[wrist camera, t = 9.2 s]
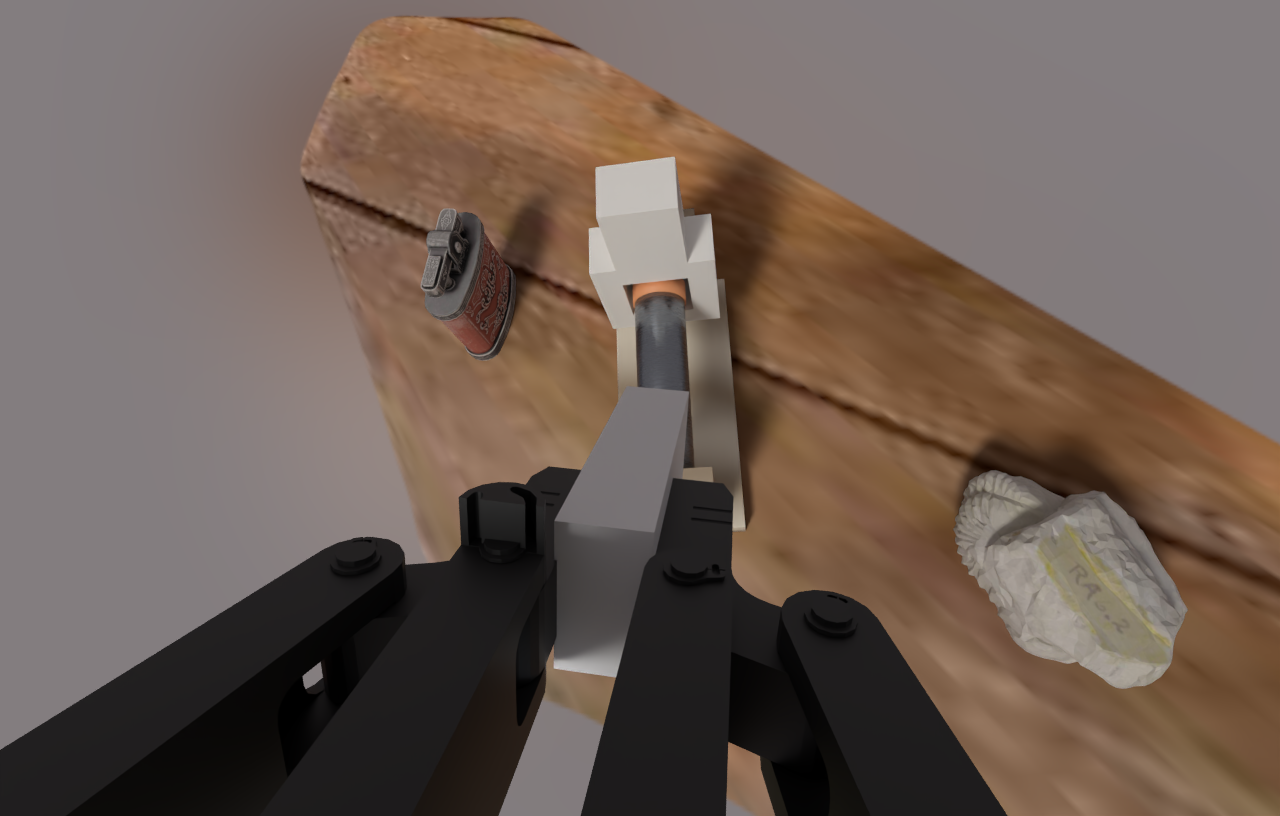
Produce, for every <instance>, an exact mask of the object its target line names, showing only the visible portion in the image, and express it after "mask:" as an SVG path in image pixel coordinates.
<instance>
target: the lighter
mask: <svg viewBox="0 0 1280 816" xmlns="http://www.w3.org/2000/svg"><path fill="white" fill-rule="evenodd" d="M426 243H427V247H428V253H429V255H428V259H427V263H426V267H425V270H424V274H423V278H422V282H421V288H422V290H423V291H424V292H425V307H426V309H427V310H428V312H429V313H430V314H431V315H432V316H433V317H435V318H436V319H438V320H441V321H442V322H443V323H444V324H445V325H446V326H447V327H448V328H449V329H450V330H451V332H452V333H453V334H454V335H455V336H456V337H457V338H458V339H459V340H460V341H461V342H462V343H463V344H464V345H465V349H466V350H467V352H468V353H469V354H470V355H471V356H472V357H474V358H475V359H477V360H482V361H483V360H489V359H492V358H494V357H495V356H496V355H498V353H499V352H500V350H501V347H502V345H503V343H504V340H505V338H506V336H507V333H508V330H509V326H510V323H511V320H512V316H513V311H514V304H515V297H516V277H515V274H514V273H513V271H512V270H511V268H510V267H509V266H508V265H506V264H505V263H504V262H503V260H502V259H501V257H500V256H499V254H498V252H497V251H496V249H495V248H494V246H493V245H492V243H491V242H490V240H489V239H488V237H487V236H486V234H485V232H484V226H483V224H482V223H481V221H480V220H479V218H478V217H477V216H476V215H474V214H472V213H467V212H463V213H457V211H456V210H455V209H451V208H447V209H443V210H442V211H441V212H440V215H439V218H438V222H437V226H436V229H435V230H433V231H430V232H429V233H428V236H427V242H426Z"/></svg>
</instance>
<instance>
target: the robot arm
mask: <svg viewBox="0 0 1280 816" xmlns="http://www.w3.org/2000/svg"><path fill="white" fill-rule="evenodd" d="M688 399H689V392H688V391H677V390H666V389H655V388H644V387H633V386H627V387H626V389H625V390H624V392H623V394H622V396H621V398H620V400H619V402H618V403H617V405H616V407H615V409H614V411H613V413H612V415H611V416H610V418H609V420H608V422H607V424H606V426H605V428H604V429H603V431H602V433H601V435H600V437H599V439H598V441H597V442H596V444H595V446H594V448H593V450H592V452H591V454H590V455H589V457H588V459H587V461H586V463H585V465H584V467H583V468H582V470H576V469H567V468H558V467H547V468H546V469H544V470H542V471H540V472H539V473H537V474H535V475H533V476H532V477H531V478H530V480H529V481H528V482H527V484H526V485H524V484H520V483H511V482H497V483H491V484H485V485H481V486H478V487H475V488H473V489H470V490H468V491H466V492H465V493H464V494H462V495H461V496H460V497H459V511H460V530H461V546H460V547H459V549H458V550H457V551H456V553H455V554H454V555H453V557H452V558H451V559H450V561H444V562H437V563H424V564H410V565H405V556H404V552H403V550H402V549H401V547H400V545H399V544H397V543H395V542H392V541H391V540H388V539H382V538H375V537H365V538H363V537H360V538H353V539H351V540H347V541H343V542H339V543H337V544H334V545H332V546H330V547H328V548H326V549H324V550H322V551H320V552H319V553H317V554H315V555H314V556H312V557H310V558H309V559H307V560H306V561H304V562H302V563H301V564H300V565H298V566H296V567H295V568H293V569H291V570H290V571H288V572H286V573H285V574H283V575H282V576H280V577H278V578H277V579H275V580H273V581H272V582H270V583H269V584H267V585H266V586H264V587H262V588H260V589H259V590H257V591H256V592H254V593H252V594H251V595H249V596H248V597H246V598H244V599H243V600H241V601H240V602H238V603H236V604H235V605H233V606H232V607H230V608H228V609H227V610H225V611H223V612H222V613H220V614H219V615H217V616H216V617H214V618H212V619H211V620H209V621H207V622H206V623H204V624H203V625H201V626H199V627H198V628H196V629H194V630H193V631H191V632H190V633H188V634H187V635H185V636H183V637H182V638H180V639H178V640H177V641H175V642H174V643H172V644H170V645H169V646H167V647H165V648H164V649H162V650H161V651H159V652H157V653H156V654H154V655H153V656H151V657H149V658H148V659H146V660H144V661H143V662H141V663H140V664H138V665H136V666H135V667H133V668H132V669H130V670H129V671H127V672H125V673H123V674H122V675H120V676H119V677H117V678H116V679H114V680H112V681H111V682H109V683H107V684H106V685H104V686H103V687H101V688H99V689H98V690H96V691H94V692H93V693H91V694H90V695H88V696H86V697H85V698H83V699H82V700H80V701H79V702H77V703H75V704H74V705H72V706H70V707H69V708H67V709H66V710H64V711H62V712H61V713H59V714H57V715H56V716H54V717H53V718H51V719H49V720H48V721H46V722H45V723H43V724H41V725H40V726H38V727H37V728H35V729H33V730H32V731H30V732H29V733H27V734H25V735H24V736H22V737H20V738H19V739H17V740H15V741H14V742H12V743H11V744H9V745H7V746H6V747H4V748H3V749H1V750H0V816H498V815H499V813H500V810H501V807H502V805H503V802H504V799H505V797H506V794H507V792H508V788H509V786H510V784H511V781H512V778H513V776H514V773H515V770H516V768H517V765H518V762H519V759H520V757H521V754H522V752H523V749H524V746H525V744H526V741H527V738H528V736H529V733H530V730H531V728H532V725H533V722H534V720H535V717H536V714H537V712H538V709H539V706H540V704H541V701H542V698H543V696H544V693H545V686H546V662H547V660H548V657H549V655H550V652H551V650H552V647H553V645H554V668H555V669H562V670H569V671H575V672H582V673H589V674H596V675H603V676H610V677H616V680H615V684H614V688H613V692H612V695H611V699H610V703H609V707H608V711H607V715H606V719H605V723H604V727H603V731H602V735H601V738H600V743H599V746H598V750H597V754H596V758H595V762H594V766H593V770H592V774H591V778H590V782H589V786H588V789H587V793H586V797H585V801H584V805H583V809H582V813H581V816H726V793H727V762H728V742H730V743H732V744H735V745H737V746H739V747H741V748H744V749H746V750H748V751H750V752H752V753H755V754H757V755H759V756H760V761H761V770H762V774H763V777H764V780H765V784H766V787H767V790H768V793H769V797H770V800H771V803H772V807H773V810H774V813H775V816H1007V814H1006V813H1005V811H1004V810H1003V808H1002V807H1001V805H1000V804H999V802H998V800H997V799H996V797H995V796H994V794H993V793H992V791H991V790H990V788H989V787H988V785H987V784H986V782H985V781H984V779H983V778H982V776H981V775H980V773H979V772H978V770H977V769H976V767H975V766H974V764H973V763H972V761H971V759H970V758H969V756H968V755H967V753H966V752H965V750H964V749H963V747H962V746H961V744H960V743H959V741H958V740H957V738H956V737H955V735H954V734H953V732H952V731H951V729H950V728H949V726H948V725H947V723H946V722H945V720H944V718H943V717H942V715H941V714H940V712H939V711H938V709H937V708H936V706H935V705H934V703H933V702H932V700H931V699H930V697H929V696H928V694H927V693H926V691H925V690H924V688H923V687H922V685H921V684H920V682H919V681H918V679H917V677H916V676H915V674H914V673H913V671H912V670H911V668H910V667H909V665H908V664H907V662H906V661H905V659H904V658H903V656H902V655H901V653H900V652H899V650H898V649H897V647H896V646H895V644H894V643H893V641H892V640H891V638H890V636H889V635H888V633H887V632H886V630H885V629H884V627H883V626H882V624H881V623H880V621H879V620H878V618H877V617H876V616H875V615H874V614H873V613H872V612H871V611H870V610H869V609H868V608H867V607H866V606H864V605H862V604H861V603H859V602H857V601H855V600H854V599H852V598H850V597H847V596H844V595H842V594H838V593H835V592H830V591H820V590H811V591H804V592H798V593H796V594H794V595H793V596H791V597H789V598H787V599H786V601H785V602H784V604H783V606H782V607H779V606H776V605H773V604H770V603H767V602H765V601H763V600H760V599H758V598H756V597H754V596H753V595H751V594H749V593H748V592H746V591H745V590H744V589H743V588H742V587H741V586H740V585H739V584H738V583H737V582H736V580H735V579H734V577H733V575H732V569H731V560H732V529H733V499H734V497H733V495H732V494H731V493H730V491H729V490H728V489H727V487H726V486H725V485H724V484H723V483H715V482H706V481H696V480H687V479H682V478H683V465H684V452H685V439H686V426H687V413H688ZM319 662H321V667H322V674H323V678H322V679H321V680H319V681H318V682H317V683H316V684H315V685H313V686H311V687H309V688H307V689H305V687H304V684H303V677H302V676H303V675H304V674H306V673H307V672H308V671H309V670H310V669H312V668H313V667H314V666H315V665H317V664H318V663H319Z"/></svg>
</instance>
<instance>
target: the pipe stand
mask: <svg viewBox="0 0 1280 816" xmlns="http://www.w3.org/2000/svg"><path fill="white" fill-rule="evenodd" d="M683 212H684V217H688V216H695V213H694V208H691V209H683ZM717 286H718V298H719V311H720V318H717V319H707V320H697V321H687V322H686V318H685V305H686V291H685V282H684V280H683V279H675V280H666V281H657V282H648V283H639V284H633V286H632V292H633V307H634V309H635V327H627V328H617V365H618V402H619V400H620V398H621V396H622V394H623V392H624V390H625V389H626V387H627V386H633V387H644V388H655V389H666V390H677V391H688V392H689V399H688V413H687V426H686V439H685V452H684V465H683V478H682V479H687V480H696V481H706V482H715V483H723V484H724V485H725V486H726V487H727V489H728V490H729V491H730V493H731V494H732V495H733V497H734V499H733V529H732V532H737V531H746V529H745V516H744V505H743V493H742V481H741V469H740V458H739V446H738V434H737V423H736V411H735V399H734V387H733V376H732V364H731V352H730V341H729V329H728V317H727V305H726V294H725V282H724V279H717Z"/></svg>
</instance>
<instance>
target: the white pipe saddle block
mask: <svg viewBox="0 0 1280 816" xmlns="http://www.w3.org/2000/svg"><path fill="white" fill-rule="evenodd" d="M596 218H597V221H598V224H599V227H597V228H589V274H590V277H591V279H592V281H593V283H594V286H595V288H596V290H597V293H598V295H599V297H600V299H601V302H602V304H603V306H604V309H605V311H606V313H607V315H608V318H609V320H610V322H611V325H612V327H613V329H617V328H627V327H635V309H634V307H633V292H632V286H633V284H639V283H648V282H657V281H666V280H675V279H683V280H684V282H685V291H686V305H685V318H686V322H687V321H697V320H707V319H717V318H720V311H719V298H718V286H717V274H716V264H715V253H714V242H713V231H712V221H711V214H704V215H696V216H688V217H684V212H683V206H682V199H681V193H680V187H679V180H678V174H677V167H676V161H675V157H669V158H662V159H654V160H647V161H639V162H632V163H624V164H617V165H609V166H602V167H596Z"/></svg>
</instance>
